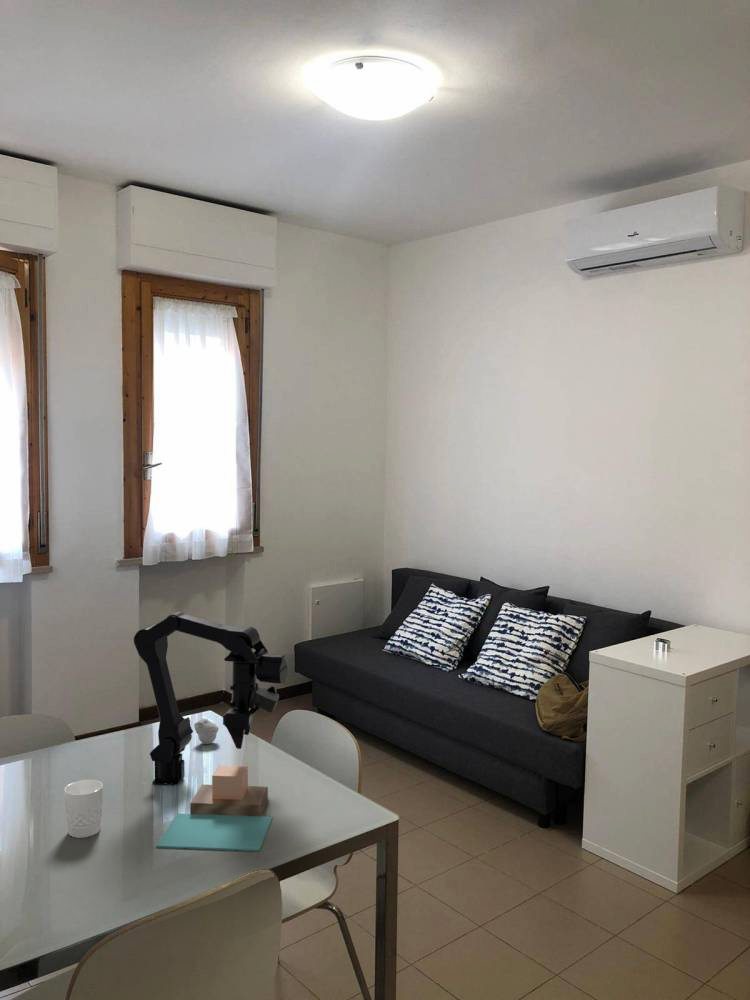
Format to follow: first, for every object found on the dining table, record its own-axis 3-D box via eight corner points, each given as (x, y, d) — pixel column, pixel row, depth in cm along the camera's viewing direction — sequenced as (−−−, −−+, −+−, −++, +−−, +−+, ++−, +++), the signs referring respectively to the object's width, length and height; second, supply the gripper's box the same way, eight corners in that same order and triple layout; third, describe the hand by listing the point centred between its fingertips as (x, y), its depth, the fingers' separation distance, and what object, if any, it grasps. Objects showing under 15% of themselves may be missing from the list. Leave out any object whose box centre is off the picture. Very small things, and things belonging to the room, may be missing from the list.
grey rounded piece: (197, 738, 238) (197, 715, 237) (221, 740, 237) (221, 716, 237) (191, 746, 232) (190, 722, 231) (215, 747, 231) (215, 723, 231)
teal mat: (156, 847, 175) (156, 845, 175) (177, 815, 190) (177, 813, 190) (259, 851, 174) (259, 849, 174) (272, 818, 189) (272, 816, 189)
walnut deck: (190, 815, 190) (190, 802, 190) (202, 796, 200) (201, 784, 200) (259, 818, 189) (259, 805, 189) (267, 798, 199) (267, 786, 199)
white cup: (110, 826, 185) (110, 782, 184) (87, 842, 177) (86, 797, 177) (81, 820, 187) (80, 777, 187) (57, 836, 180) (56, 791, 179)
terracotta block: (212, 798, 192) (212, 775, 192) (218, 787, 198) (218, 765, 198) (242, 799, 192) (242, 776, 191) (247, 788, 198) (247, 766, 197)
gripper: (270, 693, 193) (268, 758, 195) (282, 669, 212) (281, 729, 213) (223, 690, 194) (221, 755, 195) (239, 667, 212) (238, 727, 214)
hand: (242, 741), depth 204 cm, fingers open, 9 cm apart
